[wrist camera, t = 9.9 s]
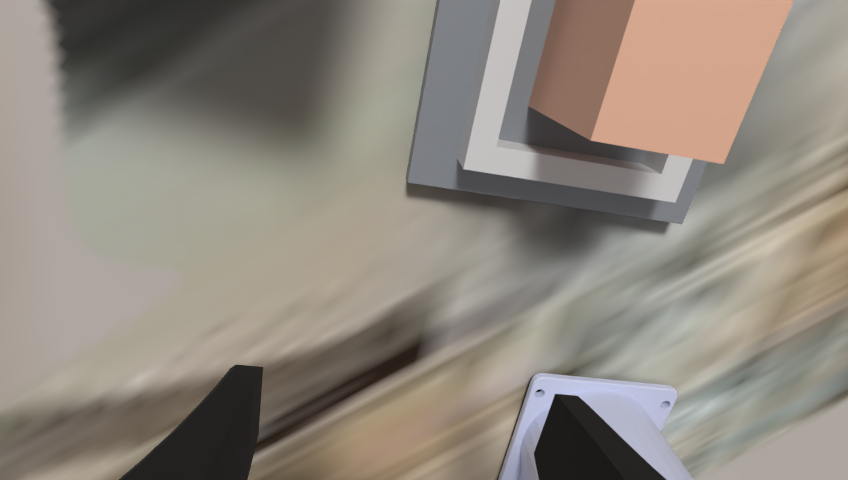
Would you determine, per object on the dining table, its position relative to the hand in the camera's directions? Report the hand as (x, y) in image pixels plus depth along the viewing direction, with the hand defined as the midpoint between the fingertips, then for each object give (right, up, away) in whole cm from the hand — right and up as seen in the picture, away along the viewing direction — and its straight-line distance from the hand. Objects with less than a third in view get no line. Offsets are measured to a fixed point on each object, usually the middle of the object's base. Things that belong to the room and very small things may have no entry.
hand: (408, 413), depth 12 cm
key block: (+7, +12, +6) cm, 15 cm away
